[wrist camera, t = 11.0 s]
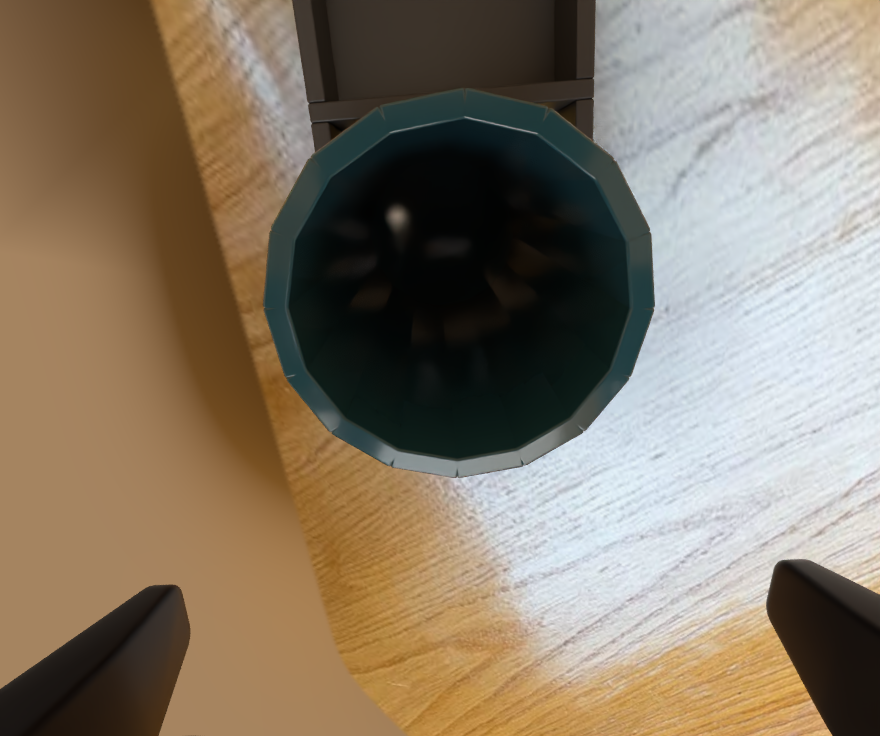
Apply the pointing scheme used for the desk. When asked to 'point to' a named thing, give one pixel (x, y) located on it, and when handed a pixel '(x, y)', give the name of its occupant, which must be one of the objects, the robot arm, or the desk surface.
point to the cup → (459, 282)
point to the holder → (444, 54)
